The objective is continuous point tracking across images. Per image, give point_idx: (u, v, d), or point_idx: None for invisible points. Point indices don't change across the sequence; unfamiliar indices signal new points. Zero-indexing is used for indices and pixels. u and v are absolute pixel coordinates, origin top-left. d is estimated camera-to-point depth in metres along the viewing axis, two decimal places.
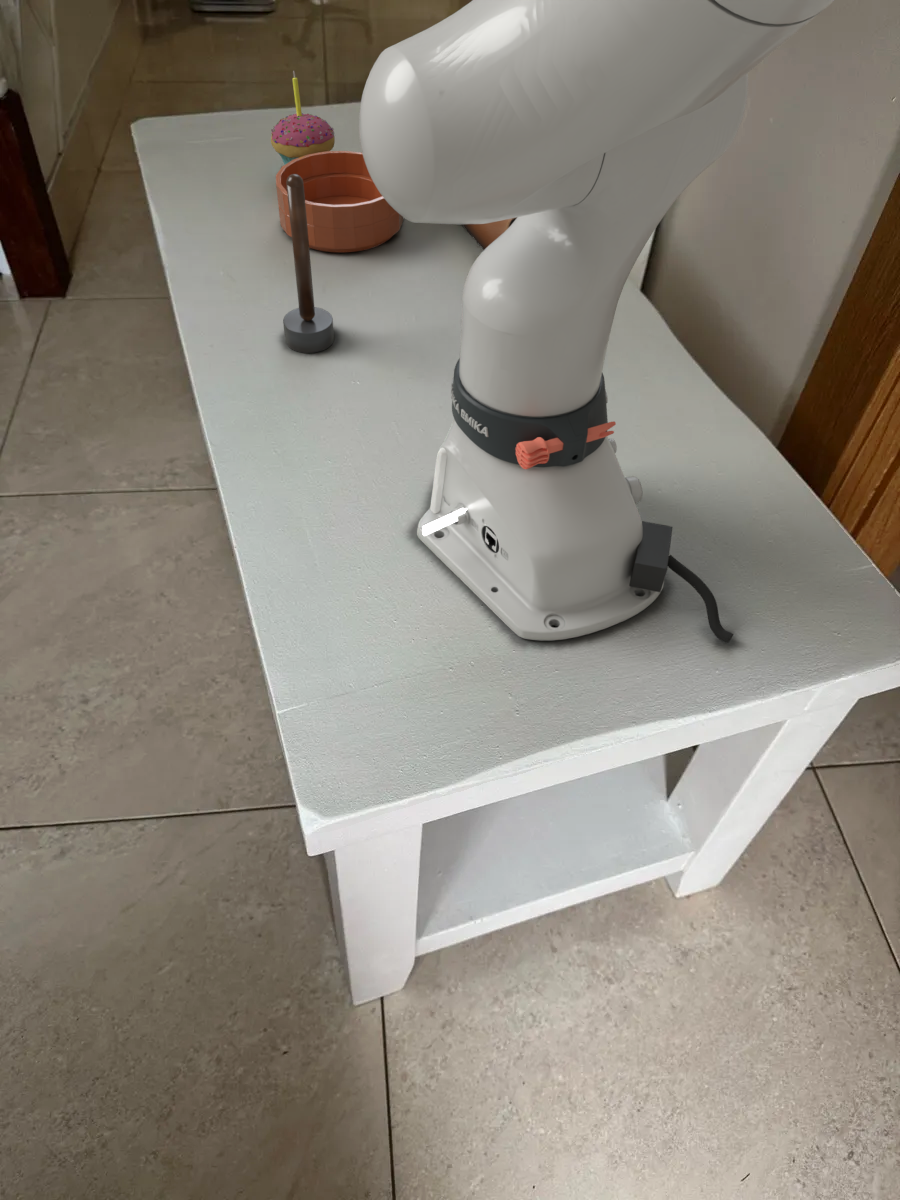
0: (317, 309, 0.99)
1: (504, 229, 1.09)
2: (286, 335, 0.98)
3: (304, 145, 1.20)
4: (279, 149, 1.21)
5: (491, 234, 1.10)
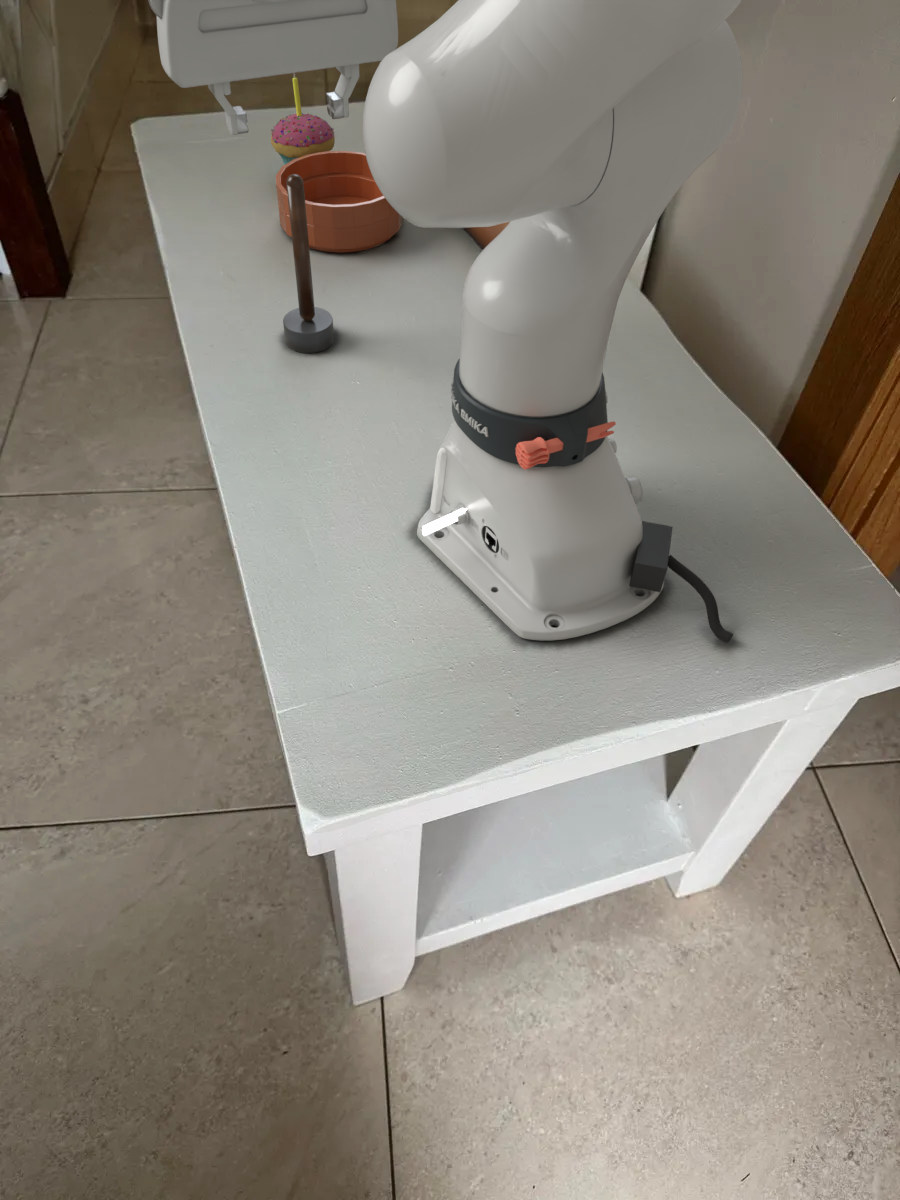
0: (317, 309, 0.99)
1: (503, 229, 1.09)
2: (286, 335, 0.98)
3: (304, 145, 1.20)
4: (279, 149, 1.21)
5: (490, 234, 1.10)
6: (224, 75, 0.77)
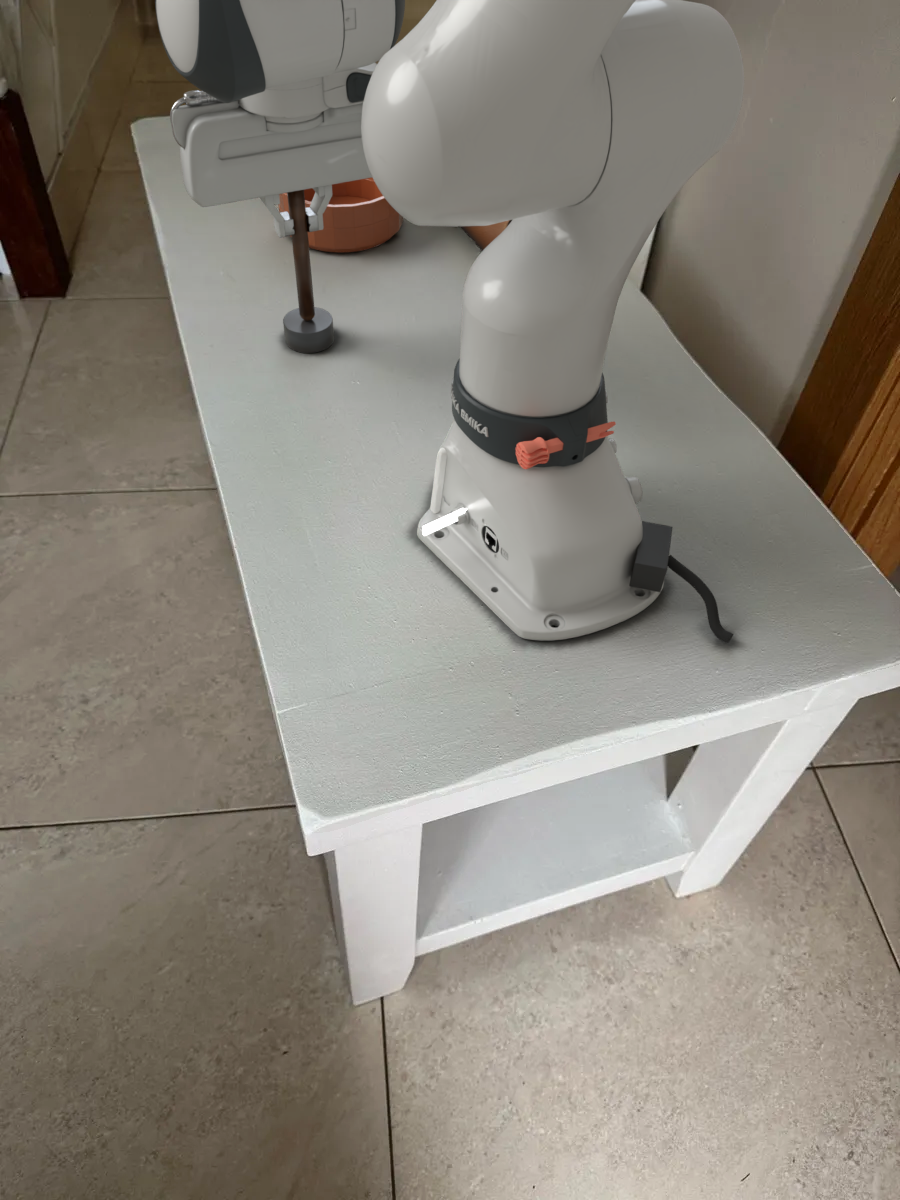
0: (317, 309, 0.99)
1: (502, 230, 1.09)
2: (286, 335, 0.98)
3: None
4: None
5: (489, 235, 1.10)
6: (241, 195, 0.84)
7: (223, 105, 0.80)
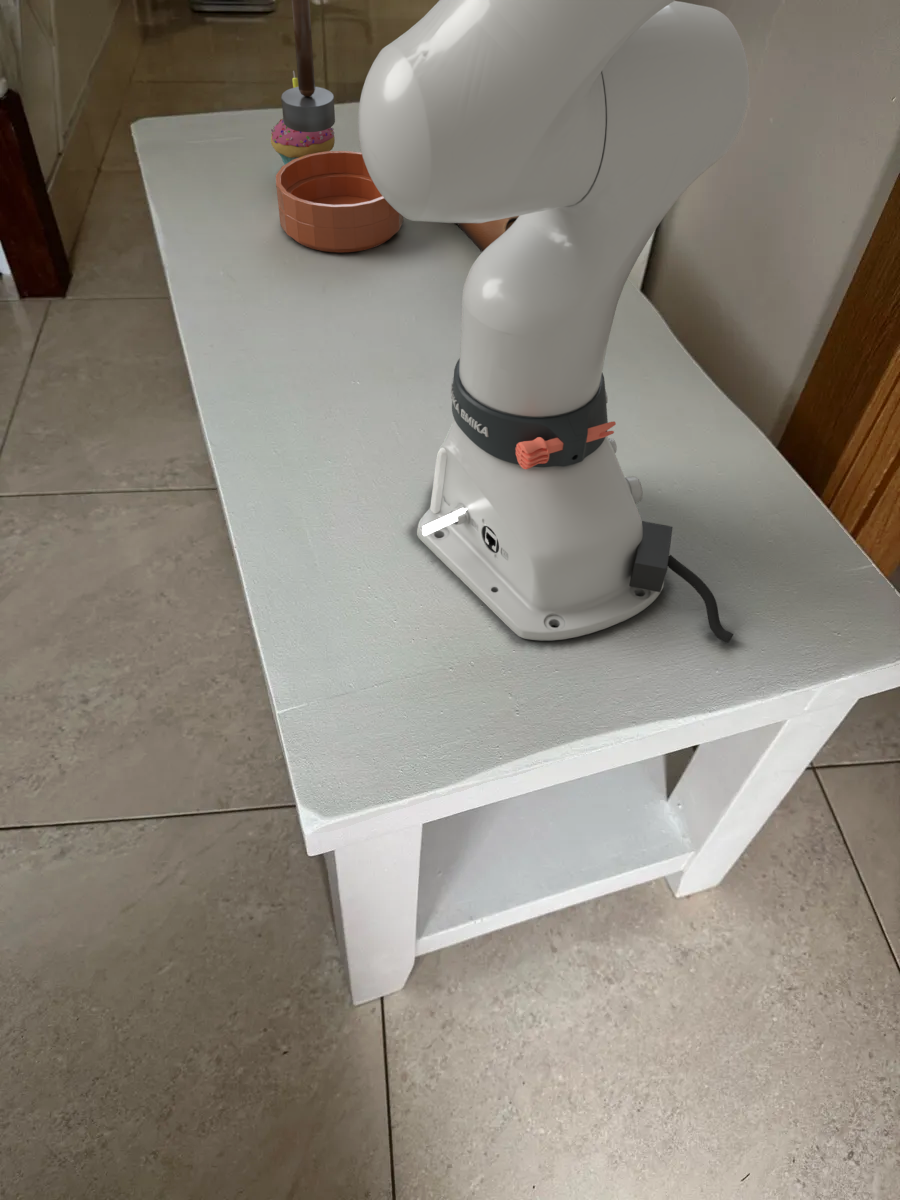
0: (317, 88, 0.94)
1: (501, 230, 1.09)
2: (284, 112, 0.92)
3: (304, 145, 1.20)
4: (279, 149, 1.21)
5: (488, 235, 1.10)
6: None
7: None
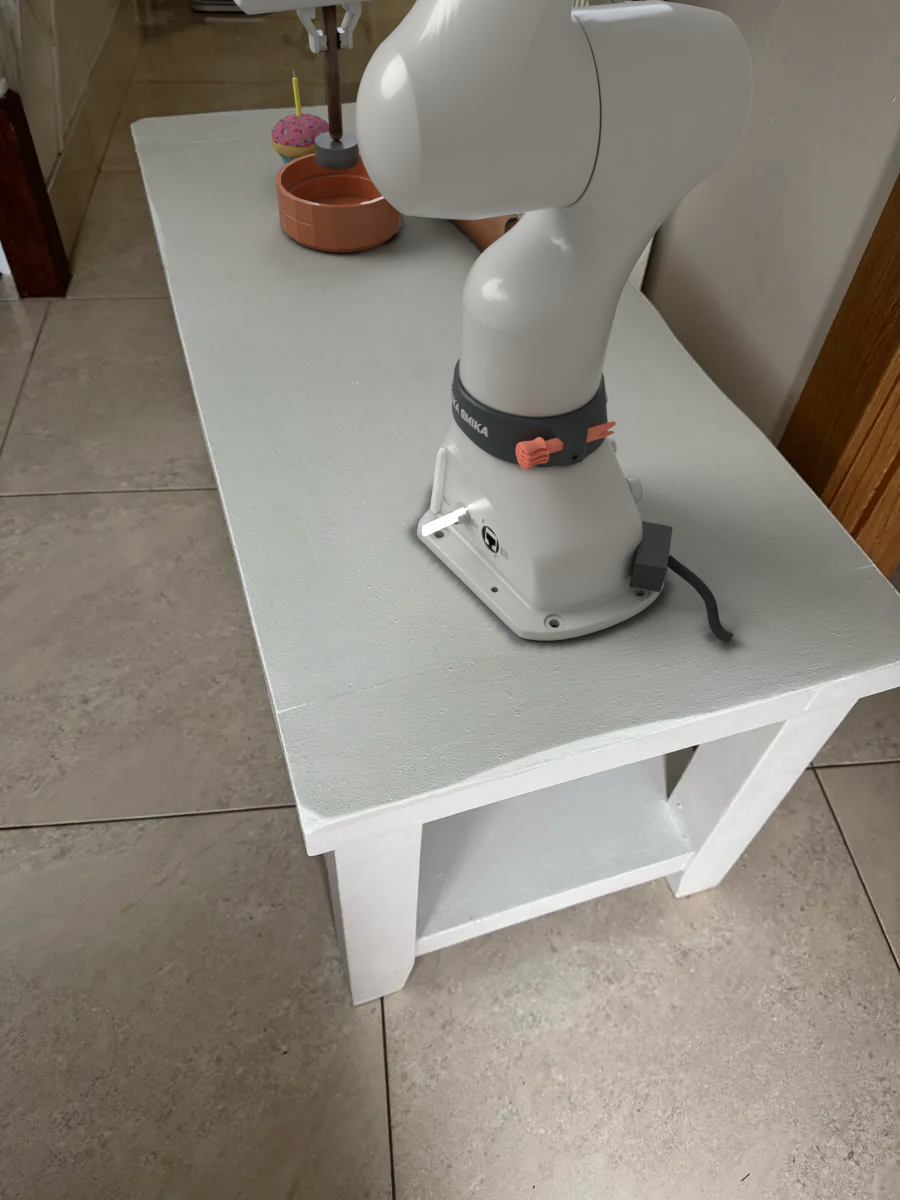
0: (344, 133, 1.11)
1: (500, 230, 1.09)
2: (317, 154, 1.09)
3: (304, 145, 1.20)
4: (279, 149, 1.21)
5: (487, 235, 1.10)
6: (282, 5, 0.95)
7: None
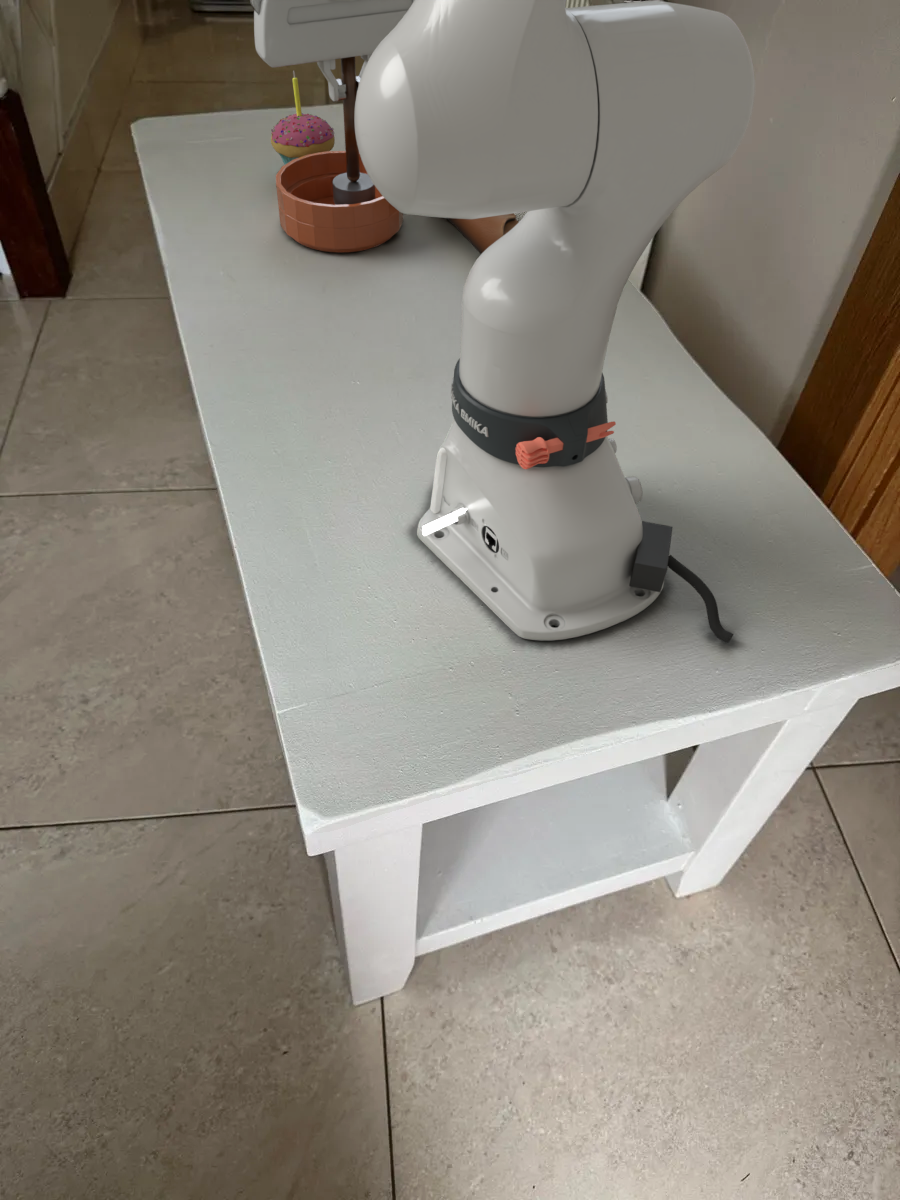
0: (361, 174, 1.15)
1: (499, 230, 1.09)
2: (335, 194, 1.14)
3: (304, 145, 1.20)
4: (279, 149, 1.21)
5: (486, 235, 1.10)
6: (304, 57, 1.00)
7: None
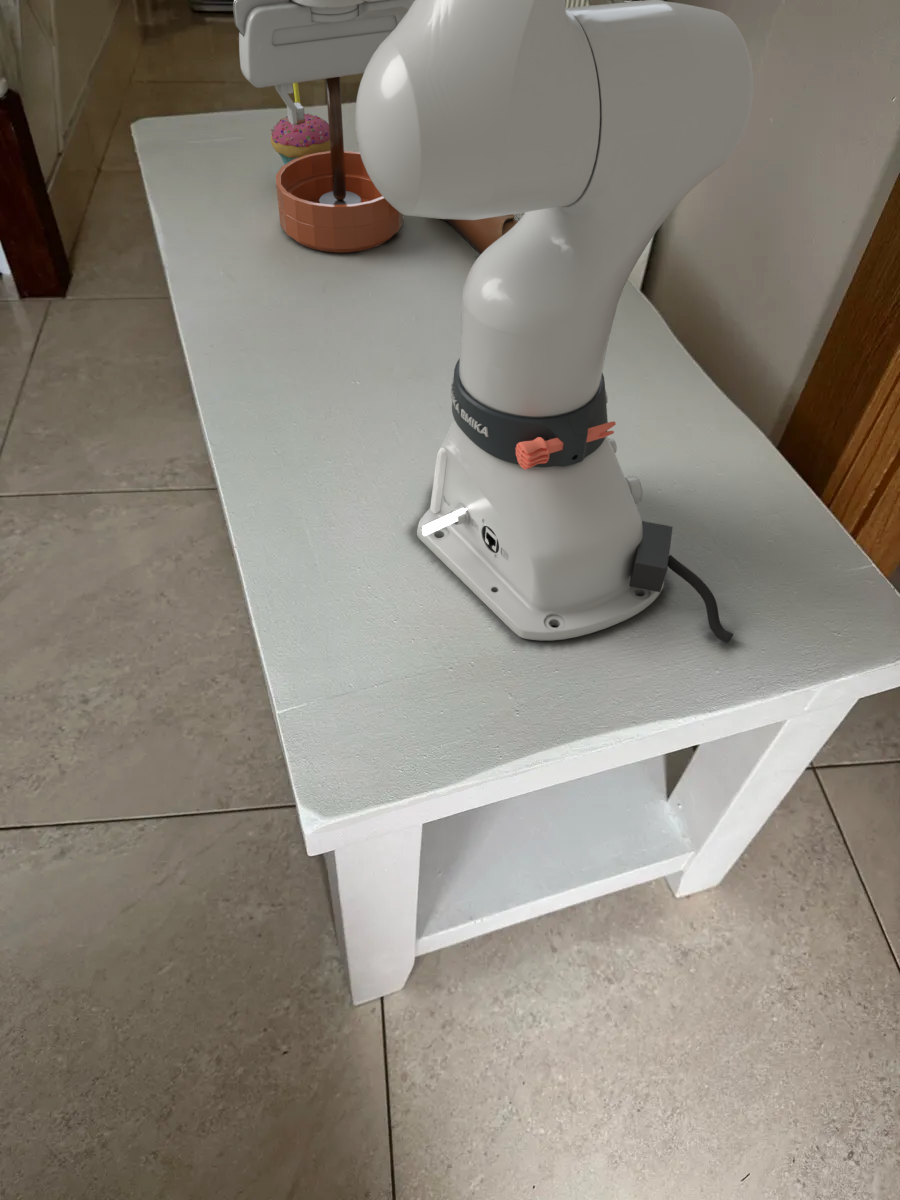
0: (347, 192, 1.16)
1: (498, 230, 1.09)
2: None
3: (304, 145, 1.20)
4: (279, 149, 1.21)
5: (484, 236, 1.09)
6: (289, 78, 1.01)
7: None
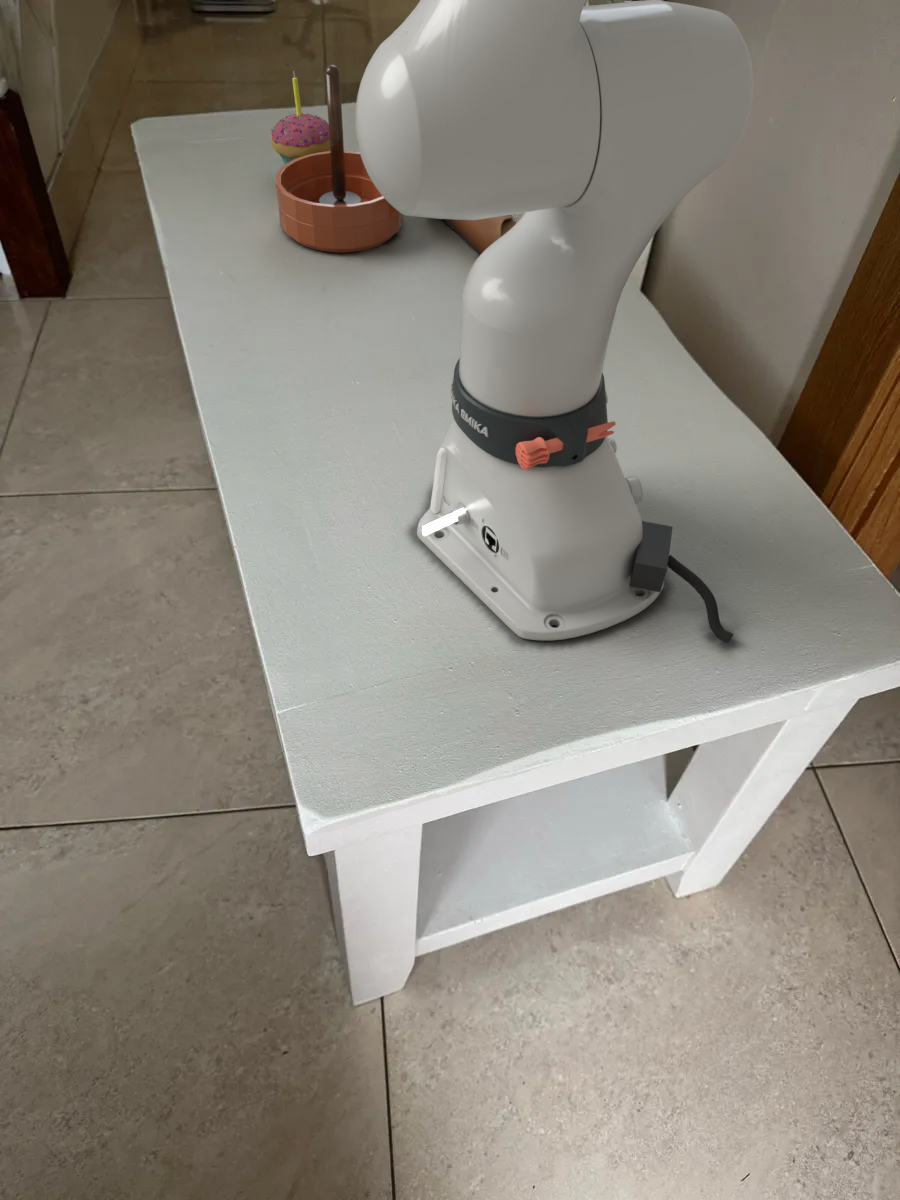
0: (347, 192, 1.16)
1: (496, 231, 1.09)
2: None
3: (304, 145, 1.20)
4: (279, 149, 1.21)
5: (483, 236, 1.09)
6: None
7: None
